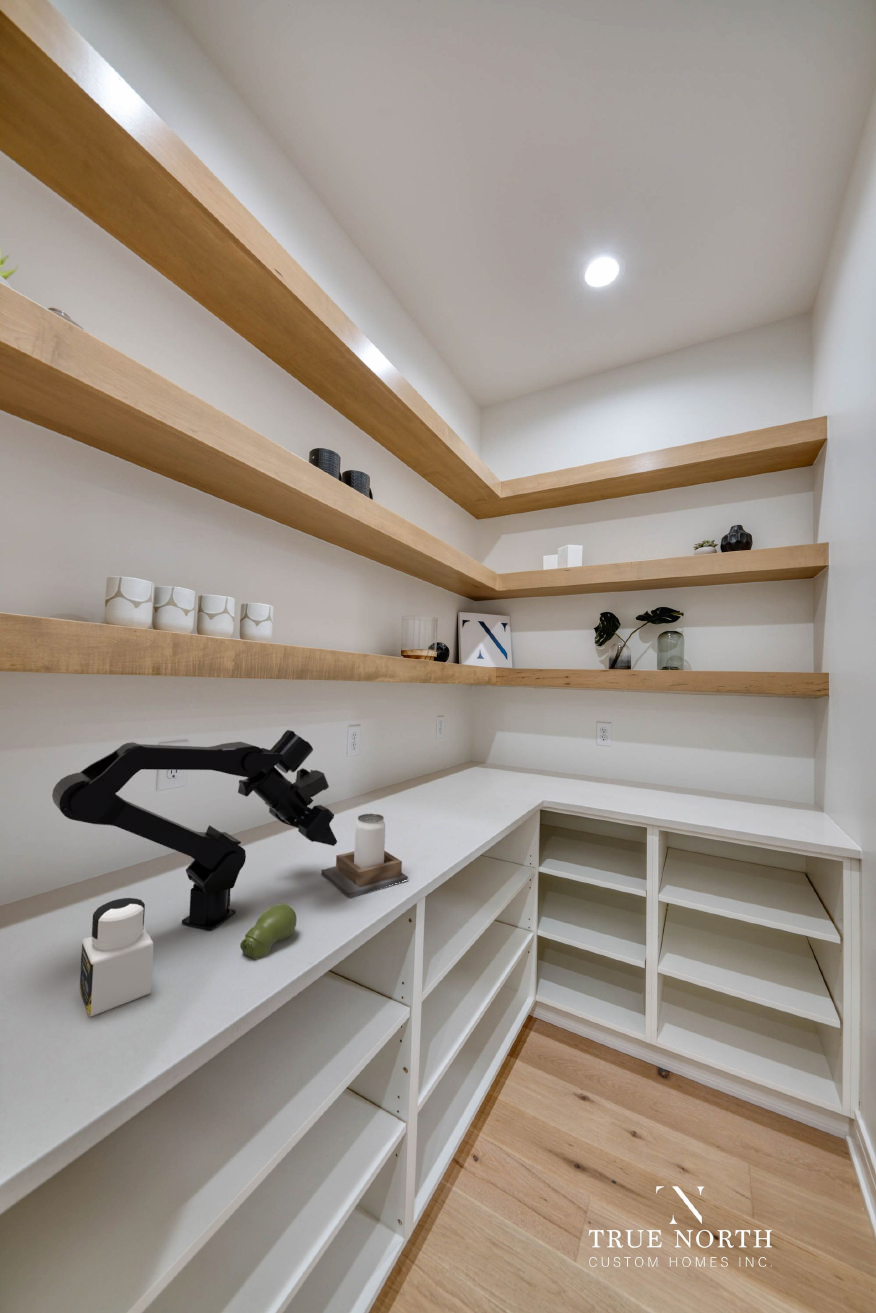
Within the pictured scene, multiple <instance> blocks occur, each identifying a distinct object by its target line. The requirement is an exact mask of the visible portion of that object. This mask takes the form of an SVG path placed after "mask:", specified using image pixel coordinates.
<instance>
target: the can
mask: <svg viewBox="0 0 876 1313" xmlns="http://www.w3.org/2000/svg"><path fill="white" fill-rule="evenodd" d="M384 819H385V818H384V815H381V814H378V813H363V814H360V815H358V817H357V821H356V823H355V828H354V830H355V832H354V851H353V852H354V864H356V865H357V866H358V867H360V868H361V869H363V868H367V867H371V866H375V865H379V864H383V863H384V851H385V848H386V846H385V844H386V823H385V821H384Z"/></svg>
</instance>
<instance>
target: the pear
mask: <svg viewBox="0 0 876 1313" xmlns="http://www.w3.org/2000/svg"><path fill="white" fill-rule="evenodd" d="M297 919H298V918H297V914H296V911H295V910H294V908H293V907H291V905H289V904H286V903H280V904H279V903H278V904H275V905H273V906H271V907H270V908H268V909H267V910H265V912H263V913H262V914H261V915H260V916H259V917H258V919H257V921H256V922H255V923H254V924H255V925H254V926H252V927H251V928H249V930H248V931H247V932H246V933H245V935H244V936H245V938H244V939H242V940H241V942H240V944H239V946H240V947H239V948H240V949H241V951H242V954H243V955H246V956H248V957H250V958H252V959H254V960H259V959H262V958H263V957H265V956H267V954H268V953H269V952H270V949H271V946H272V945H273V944H275V943H276V942H279V941H282V940H283V941H284V940H286V939H288V937H290V936H291V934H292V933H294V931H295V928H296V927H297V922H298V920H297Z"/></svg>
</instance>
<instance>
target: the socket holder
mask: <svg viewBox="0 0 876 1313" xmlns="http://www.w3.org/2000/svg"><path fill="white" fill-rule="evenodd" d="M335 857H336V860H335V861H336V862H335V865H334V866H332V867H328V868H324V869H321V872H320V874H321V876H322V877H323V878H325V879H326V880H327V881H328V882H330V884H332V885H333V886H334V887H335V888H336V889H337V890H339V891H340V892H341V893H342V894H344V895H345V896H346V897H347V898H348V899H350V898H351V899H352V898H355V897H359V896H361V894H362V895H364V894H367V893H368V892H369V893H371V891H372V892H375V891H374V890H376V891H378V890H377V889H379V890H381V889H380V888H383V889H385V888H384V887H386V886H389V885H392V884H395V883H399V882H402V881H404V880H407V879H408V880H409V878H408V877H409V876H408V875H406V874H404V873H403V872H402V867H403V861H402V860H401V859H399V858H398V857H395V856H394V855H393V854H391V853H390V852H388V851H386V850H384V863H383V864H379V865H375V866H371V867H367V868H363V869H361V868H360V867H358V866H357V865H356V864H354V851H351V852H346V853H341V854H337V855H336V856H335ZM389 887H390V886H389ZM386 888H387V887H386ZM369 893H368V894H369Z"/></svg>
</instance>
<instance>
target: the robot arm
mask: <svg viewBox="0 0 876 1313" xmlns="http://www.w3.org/2000/svg"><path fill="white" fill-rule="evenodd" d="M313 751H314V748H313V746H312V745H311V744H310V742H308V741H307V740H305V739H304V738H303V737H301V736H300V735H298V734H297V733H296V732H295V731H294V730H290V729H287V730H285V732H284V733H283V734H282V735H281V738H280V739H278V741H277V742H275V744H273V746H272V747H271V748H270V749H268V748H265V747H259V746H258V745H257V746H256V745H254V744H249V743H247V742H244V741H233V742H227V743H221V744H217V745H212V746H192V745H190V746H189V745H188V746H187V745H170V744H168V745H167V744H166V745H165V744H163V745H162V744H142V743H141V744H140V743H137V742H133V741H132V742H127V743H124V744H121V746H119V747H118V748H116V749H115V750H114V751H113V752H111V753H109V754H107V755H105V756H104V757H102V758H100V759H98V760H97V761H95V762H93V763H90V765H88V766H87V767H85V768H84V769H82V770H81V771H80V772H79V771H78V772H75V773H72V774H67V775H66V776H64V777H63V778H61V779H60V780H59V781H58V782H57V783H56V784H55V786H54V788H53V789H52V794H51V798H52V801H53V803H54V805H55V806H56V807H57V809H58V810H59V811H60V813H61V814H62V815H63V816H64V817H66V819H69V820H71V821H77V822H81V823H87V824H91V825H98V826H99V825H100V826H101V825H102V826H113V827H117V828H119V829H121V830H124V831H125V832H126V831H127V832H129V833H131V834H133V835H137V836H138V837H140V838H144V839H146V840H148V841H151V842H154V843H157V844H159V845H161V846H163V847H166V848H168V849H171V850H173V851H176V852H179V853H181V854H182V855H185V856H187V857H190V858H192V859H193V861H191V863H190V864H189V865H188V866H187V867H186V869H185V872H186V875H187V877H188V878H187V879H188V880H189V881H191V882H192V883H193V885H192V888H190V892H189V897H190V898H189V913H188V914H189V915H188V916H186V917H185V918H183V919H181V924H182V925H185V926H186V925H187V926H191V927H195V928H200V929H202V930H208V931H211V930H214V929H216V928H217V927H218V926H220V925H221V924H223V923H224V922H225V921H227V920H228V919H230V918H231V917H232V916H234V915H235V914H236V913H237V910H236V909H234V908H230V905H231V891H232V890H231V889H233V888H234V887H235V884H236V882H237V879H238V876H239V874H240V871H241V870H242V869H243V867H244V865H245V864H246V858H247V855H246V849H244V847H243V846H241V845H240V844H241V843H242V841H240V840H239V839H237V838H236V837H234V836H233V835H231V834H229V833H227V832H226V831H219V830H218V829H216V828H215V827H213V826H211V825H208V827H207V829H206V831H205V832H204V831H203V832H202V831H195V830H194V829H191V828H189V827H188V826H185V825H182V824H180V823H178V822H175V821H173V820H171V819H168V818H167V817H164V816H162V815H159V814H158V813H156V812H152V811H150V810H148V809H146V808H144V807H141V806H139V805H137V804H134V803H132V802H130V801H127V800H125V799H124V798H123V797H121V796H120V795H119V794H117V793H118V792H119V791H121V789H122V788H124V786H125V785H126V784H127V783H128V782H129V781H130V780H131V779H132V778H133V776H134V775H136V774H137V773H139V772H140V771H141V770H151V771H152V770H154V771H156V770H157V771H159V770H163V771H164V770H166V771H167V770H168V771H169V770H170V771H171V770H173V771H176V770H177V771H178V770H179V771H215V772H220V773H225V774H227V775H233V776H237V777H243V778H244V779H239V780H238V788H237V789H238V790H237V793H238V794H239V795H242V796H244V797H248V796H250V794H251V793H252V792H254V793H255V795H257V796H258V797H259V799H261V800H262V801H263V802H264V804H265V805H266V806H267V807H269V809H268V813H270V815H271V816H272V817H274V818H275V819H276V820H278V821H280V822H281V823H283V824H284V825H288V826H290V827H294V828H296V829H298V830H297V831H298V832H299V834H301V836H303V837H304V838H305V839H307V840H309V841H310V842H312V843H313V842H315V843H319V844H323V845H328V846H332V847H334V846H335V845H337V843H338V840H337V838H336V835H335V834H334V832H333V830H332V828H331V825H330V823H332V821H333V819H334V818H335V814H334V813H333V812H332V810H330V809H329V808H328V807H325V806H323V805H322V804H318V805H314V806H313V807H310V806H311V804H312V803H313V802H314V799H313V797H315V796H317V795H319V794H320V793H321V792H323V791H326V790H328V789H329V787H330V786H329V783H328V781H327V778H326V777H327V776H326V775H325V773H324V772H322V771H320V770H317V769H315V770H313V769H311V770H310V771H309V770H308V769H306V768H304V767H302V768H300V767H301V765H302V764H303V763H304V762H305V761H306V760H307V758H308V757H309V756H310V755H311V754H312V753H313ZM299 768H300V769H299ZM279 770H280V771H281V772H282V773H284V774H288V772H289V771H290V772H291V773H295V772H296V777H295V778H296V779H295V781H294V782H292V781H290V780H288V779H287V777H286V776H284V774H282V773H281V772H280V771H279Z"/></svg>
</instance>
